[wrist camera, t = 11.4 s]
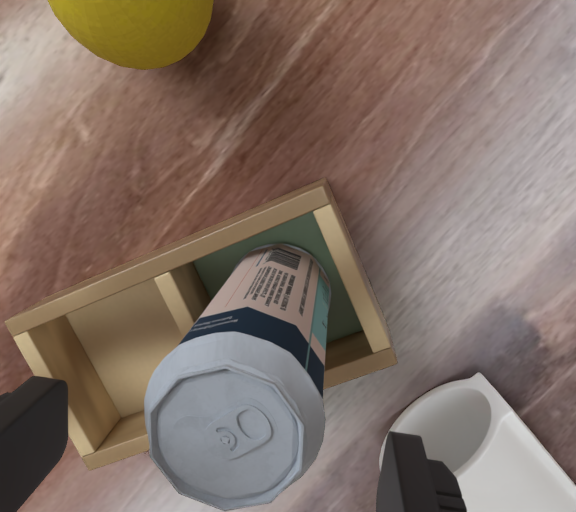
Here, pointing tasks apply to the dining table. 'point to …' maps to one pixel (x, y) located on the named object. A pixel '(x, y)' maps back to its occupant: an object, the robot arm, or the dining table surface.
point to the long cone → (487, 449)
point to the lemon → (136, 28)
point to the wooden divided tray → (188, 316)
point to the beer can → (245, 384)
